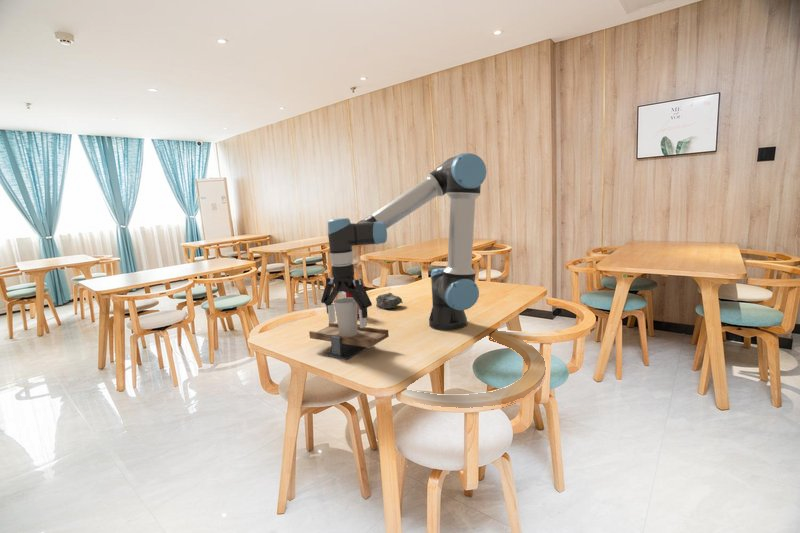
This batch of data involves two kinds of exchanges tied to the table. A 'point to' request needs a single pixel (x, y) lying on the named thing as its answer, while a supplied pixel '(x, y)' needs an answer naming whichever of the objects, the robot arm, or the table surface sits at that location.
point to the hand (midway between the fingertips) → (347, 324)
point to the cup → (346, 316)
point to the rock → (388, 301)
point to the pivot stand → (343, 349)
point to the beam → (363, 338)
